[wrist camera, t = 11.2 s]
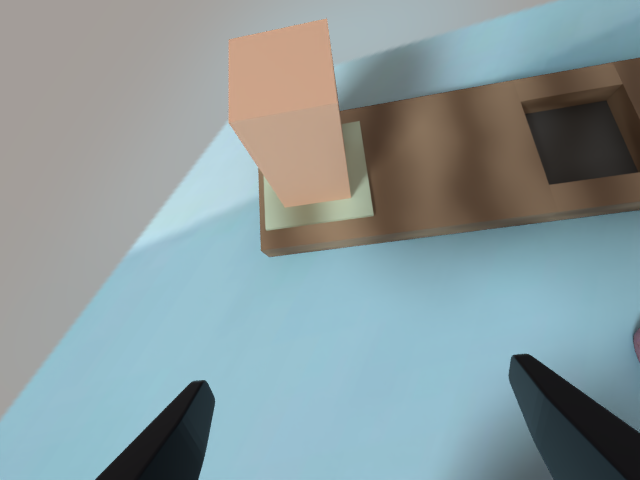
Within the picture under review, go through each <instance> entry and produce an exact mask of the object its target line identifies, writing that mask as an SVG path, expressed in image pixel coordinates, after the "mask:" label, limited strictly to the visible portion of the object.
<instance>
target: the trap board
mask: <svg viewBox="0 0 640 480" xmlns="http://www.w3.org/2000/svg"><path fill="white" fill-rule="evenodd" d="M340 117H341V124H342V131H343V139H344V146H345V154H346V162H347V170H348V177H349V185H350V193H351V198H348V199H341V200H334V201H327V202H320V203H314V204H307V205H300V206H293V207H286V208H285V207H284V205H283V204H282V202H281V201H280V199H279V198H278V196H277V195H276V193H275V192H274V190H273V189H272V187H271V186H270V184H269V183H268V181H267V180H266V178H265V177H264V175H263V174H262V172H261V171H260V169H259V168H258V173H259V204H260V235H261V251H262V252H263V253H265V254H266V255H267V256H268V257H274V256H281V255H289V254H297V253H305V252H313V251H321V250H329V249H336V248H344V247H352V246H360V245H368V244H376V243H384V242H392V241H399V240H407V239H415V238H423V237H431V236H439V235H447V234H455V233H462V232H470V231H478V230H486V229H494V228H502V227H510V226H518V225H525V224H533V223H541V222H549V221H557V220H565V219H573V218H581V217H588V216H596V215H604V214H612V213H620V212H628V211H636V210H640V58H635V59H629V60H623V61H618V62H612V63H607V64H601V65H595V66H590V67H584V68H579V69H573V70H567V71H562V72H556V73H551V74H545V75H539V76H534V77H528V78H523V79H517V80H511V81H506V82H500V83H495V84H489V85H483V86H478V87H472V88H467V89H461V90H455V91H450V92H444V93H439V94H433V95H427V96H422V97H416V98H411V99H405V100H399V101H394V102H388V103H383V104H377V105H371V106H366V107H360V108H355V109H349V110H343V111H340Z"/></svg>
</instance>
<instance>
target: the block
mask: <svg viewBox="0 0 640 480" xmlns="http://www.w3.org/2000/svg"><path fill="white" fill-rule="evenodd" d="M229 124H230V125H231V127H232V128H233V130H234V131H235V133H236V134H237V136H238V137H239V139H240V140H241V142H242V144H243V145H244V147H245V148H246V150H247V151H248V153H249V154H250V156H251V157H252V159H253V160H254V162H255V163H256V165H257V166H258V168H259V169H260V171H261V172H262V174H263V175H264V177H265V178H266V180H267V181H268V183H269V184H270V186H271V187H272V189H273V190H274V192H275V193H276V195H277V196H278V198H279V199H280V201H281V202H282V204H283V205H284V207H285V208H286V207H293V206H300V205H307V204H314V203H320V202H327V201H334V200H341V199H348V198H351V193H350V185H349V177H348V170H347V162H346V154H345V146H344V139H343V131H342V124H341V117H340V110H339V103H338V95H337V88H336V81H335V74H334V66H333V60H332V53H331V45H330V38H329V30H328V23H327V19H323V20H318V21H313V22H309V23H304V24H300V25H295V26H290V27H286V28H281V29H276V30H271V31H266V32H262V33H257V34H253V35H248V36H243V37H238V38H234V39H229Z"/></svg>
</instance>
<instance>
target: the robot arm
mask: <svg viewBox="0 0 640 480" xmlns="http://www.w3.org/2000/svg"><path fill="white" fill-rule="evenodd" d="M509 381H510V384H511V387H512V389H513V391H514V394H515V396H516V399H517V401H518V404H519V406H520V409H521V411H522V414H523V416H524V419H525V421H526V424H527V426H528V428H529V431H530V433H531V436H532V438H533V440H534V442H535V444H536V446H537V448H538V450H539V452H540V454H541V456H542V458H543V460H544V462H545V464H546V466H547V468H548V470H549V471H550V473H551V475H552V477H553V479H554V480H640V433H639V432H638V431H636V430H635V429H633V428H632V427H631V426H629V425H628V424H626V423H625V422H624V421H622V420H621V419H619V418H618V417H617V416H615V415H614V414H612V413H611V412H610V411H608V410H607V409H605V408H604V407H603V406H601V405H600V404H598V403H597V402H596V401H594V400H593V399H591V398H590V397H589V396H587V395H586V394H584V393H583V392H582V391H580V390H579V389H577V388H576V387H575V386H573V385H572V384H570V383H569V382H568V381H566V380H565V379H563V378H562V377H561V376H559V375H558V374H556V373H555V372H554V371H552V370H551V369H549V368H548V367H546V366H545V365H544V364H542V363H541V362H539V361H538V360H537V359H535V358H534V357H532V356H531V355H529V354H517V355H513V356H512V357H511V362H510V369H509ZM214 406H215V398H214V395H213V393H212V391H211V389H210V387H209V385H208V383H207V381H205V380H199V381H193V382H191V383H190V384H189V385H188V386H187V387H186V388H185V389H184V390H183V391H182V392H181V393H180V394H179V395H178V396H177V397H176V398H175V399H174V400H173V401H172V402H171V403H170V404H169V405H168V406H167V407H166V408H165V409H164V410H163V411H162V412H161V413H160V414H159V415H158V416H157V417H156V418H155V419H154V420H153V421H152V422H151V423H150V424H149V425H148V426H147V427H146V428H145V429H144V430H143V432H142V433H141V434H140V435H139V436H138V437H137V438H136V439H135V440H134V441H133V442H132V443H131V444H130V445H129V446H128V447H127V448H126V449H125V450H124V451H123V452H122V453H121V454H120V455H119V456H118V457H117V458H116V459H115V460H114V461H113V462H112V463H111V464H110V465H109V466H108V467H107V468H106V469H105V470H104V471H103V472H102V473H101V474H100V475H99V476H98V477H97V478H96V479H95V480H198V478H199V475H200V471H201V468H202V464H203V461H204V457H205V452H206V448H207V442H208V437H209V432H210V427H211V422H212V416H213V411H214Z"/></svg>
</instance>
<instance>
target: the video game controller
mask: <svg viewBox="0 0 640 480" xmlns="http://www.w3.org/2000/svg"><path fill="white" fill-rule="evenodd" d="M634 348H635V352H636V355H637V357H638V360H639V362H640V328H639V329H638V330H637V331H636V333H635V334H634Z"/></svg>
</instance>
